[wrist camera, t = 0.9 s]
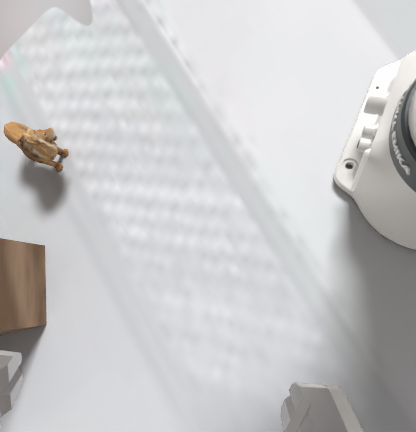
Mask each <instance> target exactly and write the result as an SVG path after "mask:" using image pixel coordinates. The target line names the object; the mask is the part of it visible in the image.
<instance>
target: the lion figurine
mask: <svg viewBox="0 0 416 432" xmlns="http://www.w3.org/2000/svg"><path fill="white" fill-rule="evenodd" d="M4 134H5V136H6V137H7V138H8V139H9V140H10V141H11V142H13V143H15V144H16V145H17V146H18V147H19V148H20V149H21V150H22V151H23V153H24V154H25V155H26V156H27V157H28V158H29V159H31V160H33V161H37V162H39V163H44V164H46V165H50V166H54V167H55V168H56V170H57V171H60V170H62V168H63V165H62V164H60V163H59V162H55V161H52V160H54V158H55V157H56V155H57V154H59V155H60V156H67V155H68V150H67V149H64V150H62V149H60V148H59V147H57V145H56V143H55V142H54V141H55V140H57V139H58V137H57V136H56V135H55V132H54V131H53V129H52V128H49V129H46V130H37V131H36V130H32V129H30V128H28V127H26V126H25V125H22V124H19V123H16V122H10V123H8V124H6V125H5V126H4Z"/></svg>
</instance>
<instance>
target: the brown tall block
mask: <svg viewBox="0 0 416 432" xmlns="http://www.w3.org/2000/svg"><path fill="white" fill-rule="evenodd" d="M44 325H46V286H45V246H43V245H37V244H31V243H25V242H19V241H13V240H7V239H1V238H0V335H1V334H6V333H11V332H15V331H20V330H25V329H30V328H34V327H39V326H44Z"/></svg>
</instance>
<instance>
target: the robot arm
mask: <svg viewBox="0 0 416 432" xmlns="http://www.w3.org/2000/svg"><path fill="white" fill-rule="evenodd" d="M348 164H349V165H352V166H353V168H352V169H347V168H346V167H345V166H346V165H348ZM334 181H335V183H336V184H337V185H338V186H339V187H340V188H341V189H342V190H343V191H345V192H346V193H347V194H349V195H350V196H351V197H352V198H353V199H354V200H355V202H356V203H357V205H358V207H359V209H360V211H361V212H362V214H363V216H364V217H365V218H366V220H367V221H368V222H369V223H370V225H371V226H372V227H373V228H374V229H375V230H377V231H378V232H379V233H380V234H382V235H383V236H385V237H386V238H388V239H389V240H391V241H393V242H395V243H397V244H399V245H402V246H404V247H407V248H410V249H414V250H416V51H413V52H411V53H410V54H408V55H406V56H405V57H404V58H403V59H402V60H400V61H397V62H394V63H391V64H389V65H386V66H384V67H382V68H380V69H379V70H378V71H377V72H376V73H375V75H374V78H373V80H372V82H371V84H370V87H369V89H368V92H367V94H366V97H365V99H364V101H363V104H362V106H361V109H360V111H359V114H358V116H357V119H356V121H355V124H354V126H353V129H352V131H351V133H350V136H349V138H348V141H347V143H346V146H345V148H344V151H343V153H342V156H341V158H340V161H339V163H338V165H337V168H336V170H335V173H334ZM21 362H22V355H21V353H18V352H11V351H3V350H0V428H1V427H2V424H1V416H3V415H4V414H5V413H7V412H8V411H9V410H11V409H12V407H13V405H14V403H15V402H16V400H17V398H18V395H19V392H20V390H21V387H22V382H23V372H22V371H21V370H20V369H19V368H18V367H19V366H20V364H21ZM289 391H290V396H289V397H287V398H286V399H285V400H284V402H283V405H282V409H281V421H282V427H283V431H284V432H364V431H363V429H362V427H361V425H360V423H359V421H358V419H357V417H356V415H355V413H354V411H353V409H352V407H351V404H350V402H349V400H348V398H347V396H346V394H345V392H344V391H343V390H342V389H341V388H340V387H334V386H324V385H318V384H308V383H297V382H295V383H293V384H292V385H291V387H290V389H289Z"/></svg>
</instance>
